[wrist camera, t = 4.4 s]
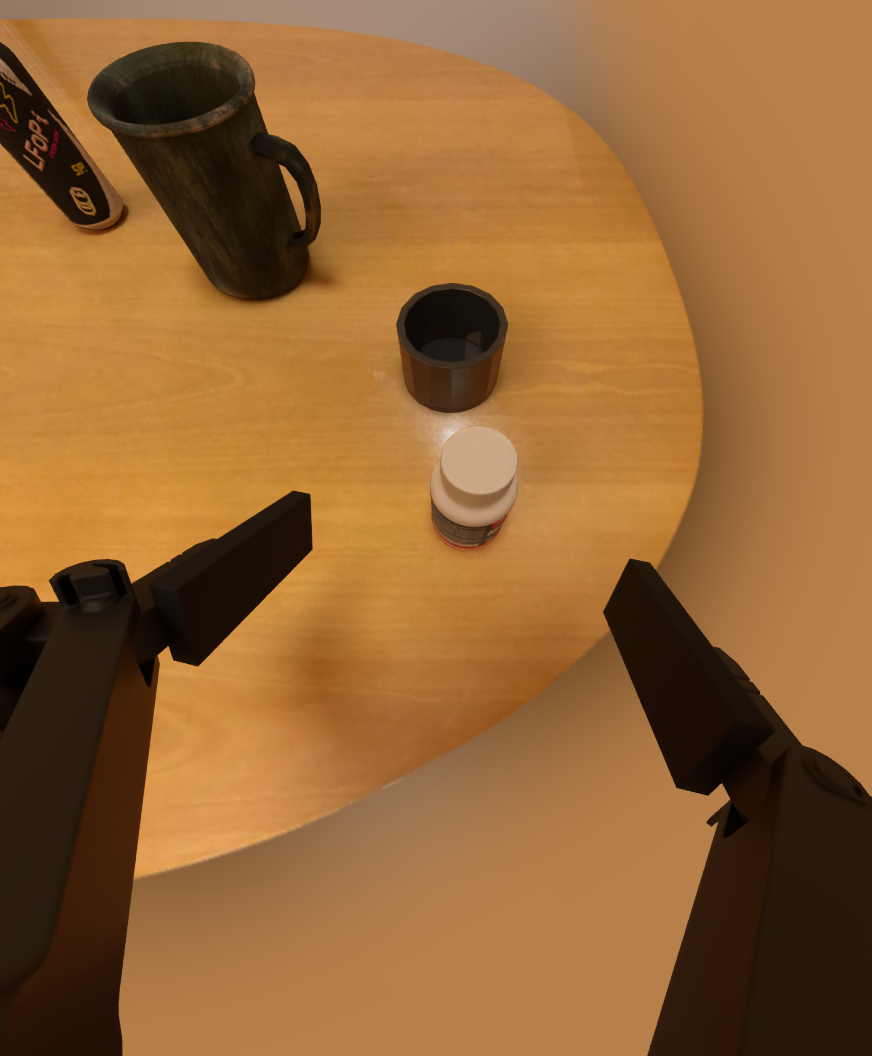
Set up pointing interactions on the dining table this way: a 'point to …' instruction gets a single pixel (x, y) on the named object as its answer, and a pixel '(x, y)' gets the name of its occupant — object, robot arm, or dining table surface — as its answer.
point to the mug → (212, 162)
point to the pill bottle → (473, 487)
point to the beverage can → (52, 150)
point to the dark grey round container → (451, 345)
